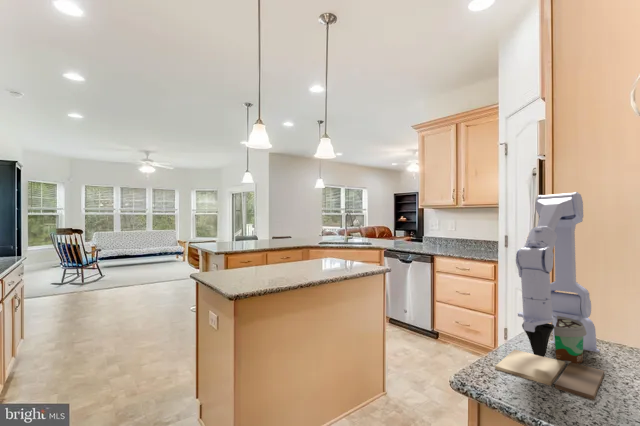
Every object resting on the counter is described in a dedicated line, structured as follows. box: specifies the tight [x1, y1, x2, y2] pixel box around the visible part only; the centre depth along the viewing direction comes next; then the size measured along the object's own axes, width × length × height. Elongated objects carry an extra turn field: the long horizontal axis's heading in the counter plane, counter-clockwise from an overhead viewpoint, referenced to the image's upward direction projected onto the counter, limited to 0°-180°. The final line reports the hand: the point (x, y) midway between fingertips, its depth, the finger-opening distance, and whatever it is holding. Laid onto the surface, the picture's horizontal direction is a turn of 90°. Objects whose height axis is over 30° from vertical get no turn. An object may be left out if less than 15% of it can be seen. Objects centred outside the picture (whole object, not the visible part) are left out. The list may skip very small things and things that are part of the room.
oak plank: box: [494, 349, 566, 386], centre depth 75 cm, size 11×14×2 cm
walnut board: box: [554, 362, 605, 401], centre depth 68 cm, size 15×6×2 cm, turn 131°
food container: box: [554, 316, 587, 365], centre depth 79 cm, size 12×6×10 cm, turn 139°
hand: (539, 354), depth 74 cm, fingers closed
